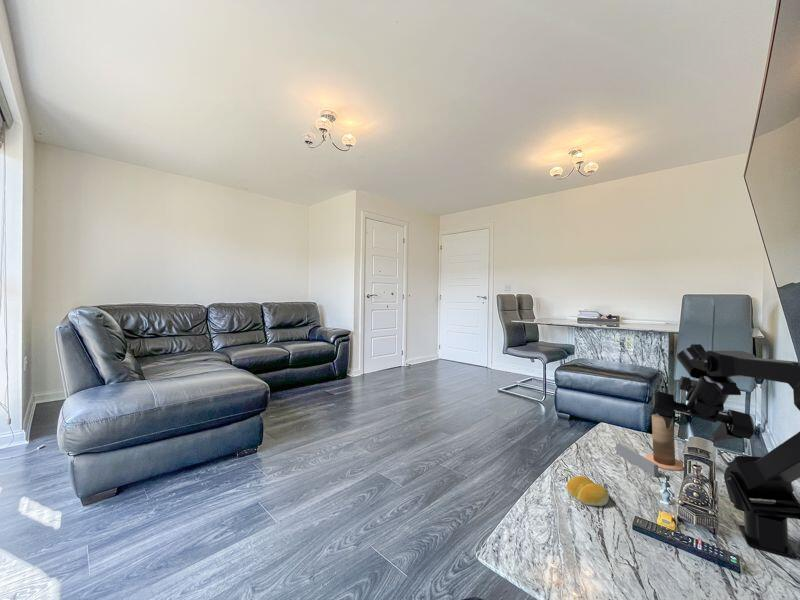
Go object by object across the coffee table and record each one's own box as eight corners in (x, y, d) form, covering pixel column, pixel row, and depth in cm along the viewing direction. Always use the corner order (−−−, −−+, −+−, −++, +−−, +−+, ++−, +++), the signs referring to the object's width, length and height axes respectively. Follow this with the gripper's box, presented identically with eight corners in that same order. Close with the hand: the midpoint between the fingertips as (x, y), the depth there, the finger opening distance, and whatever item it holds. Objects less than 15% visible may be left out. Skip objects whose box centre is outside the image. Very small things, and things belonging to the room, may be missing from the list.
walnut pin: (669, 467, 93) (667, 421, 93) (649, 459, 97) (647, 415, 98) (678, 463, 95) (677, 417, 95) (659, 456, 100) (657, 413, 100)
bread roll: (593, 511, 75) (592, 494, 75) (561, 491, 84) (560, 475, 84) (618, 502, 78) (617, 486, 78) (584, 484, 87) (584, 468, 87)
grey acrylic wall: (658, 476, 89) (658, 465, 89) (654, 476, 89) (653, 465, 89) (620, 453, 103) (619, 443, 103) (616, 453, 103) (616, 443, 103)
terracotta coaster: (687, 473, 90) (687, 472, 90) (646, 465, 95) (646, 464, 95) (682, 460, 97) (681, 458, 97) (644, 453, 102) (644, 452, 102)
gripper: (757, 381, 79) (731, 423, 87) (660, 360, 88) (645, 399, 96) (769, 417, 71) (739, 458, 79) (661, 390, 81) (645, 429, 89)
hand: (688, 433), depth 86 cm, fingers open, 9 cm apart
